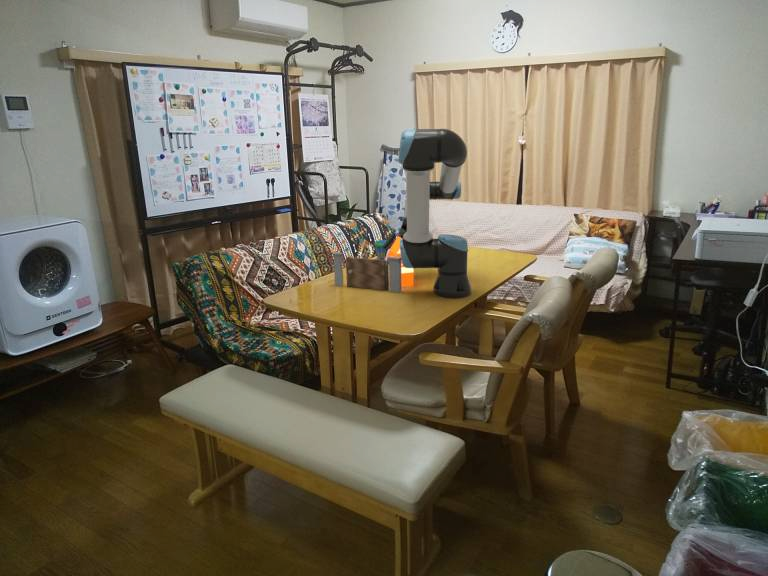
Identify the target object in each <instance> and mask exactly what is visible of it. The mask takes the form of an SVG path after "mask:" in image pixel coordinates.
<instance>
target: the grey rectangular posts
mask: <svg viewBox="0 0 768 576" xmlns="http://www.w3.org/2000/svg"><path fill="white" fill-rule="evenodd" d="M343 256H344V252H340V251H335V252H333V253H332V257H333V271H334V286H335V285H336V286H335V287H342V285H343V286H344V270H343V269H344V268H343ZM387 261H389V263H388V270H389V292H391V293H398V292H400V293H401V292H402V287H401V257H388V258H387Z"/></svg>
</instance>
